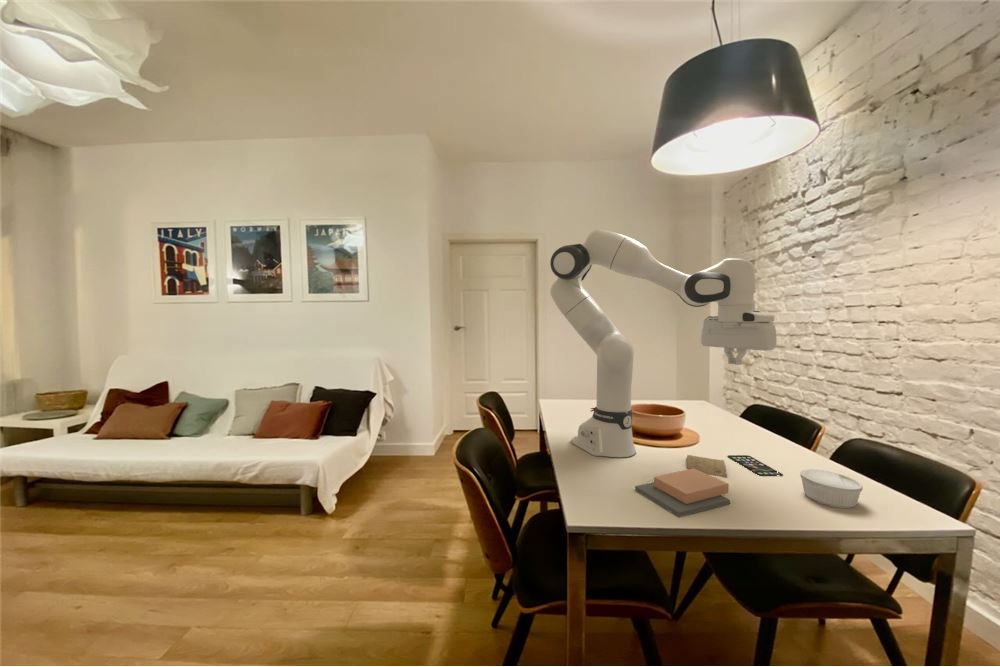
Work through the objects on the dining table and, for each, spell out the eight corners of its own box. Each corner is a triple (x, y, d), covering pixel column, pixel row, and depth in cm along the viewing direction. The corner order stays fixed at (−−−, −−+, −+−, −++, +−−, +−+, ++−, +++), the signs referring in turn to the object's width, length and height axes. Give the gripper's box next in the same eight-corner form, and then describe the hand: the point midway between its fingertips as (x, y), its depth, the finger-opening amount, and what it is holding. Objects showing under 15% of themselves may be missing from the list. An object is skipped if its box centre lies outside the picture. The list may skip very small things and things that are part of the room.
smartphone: (758, 475, 104) (725, 455, 118) (758, 477, 104) (725, 457, 119) (785, 475, 104) (748, 455, 119) (785, 477, 104) (748, 457, 119)
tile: (693, 477, 100) (653, 486, 95) (693, 468, 100) (653, 476, 95) (728, 494, 91) (686, 504, 86) (728, 483, 91) (686, 493, 86)
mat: (635, 489, 95) (635, 486, 95) (681, 479, 101) (681, 476, 101) (679, 516, 82) (679, 512, 82) (729, 503, 88) (730, 499, 88)
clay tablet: (727, 481, 102) (728, 471, 102) (686, 474, 106) (686, 465, 106) (723, 462, 115) (723, 454, 114) (686, 457, 119) (686, 449, 119)
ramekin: (875, 511, 85) (876, 489, 84) (826, 511, 85) (826, 488, 85) (832, 489, 96) (833, 469, 96) (788, 488, 96) (789, 468, 96)
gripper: (696, 316, 114) (695, 360, 114) (764, 315, 94) (763, 369, 95) (711, 316, 116) (710, 360, 116) (781, 315, 97) (779, 368, 97)
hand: (734, 364), depth 105 cm, fingers closed
